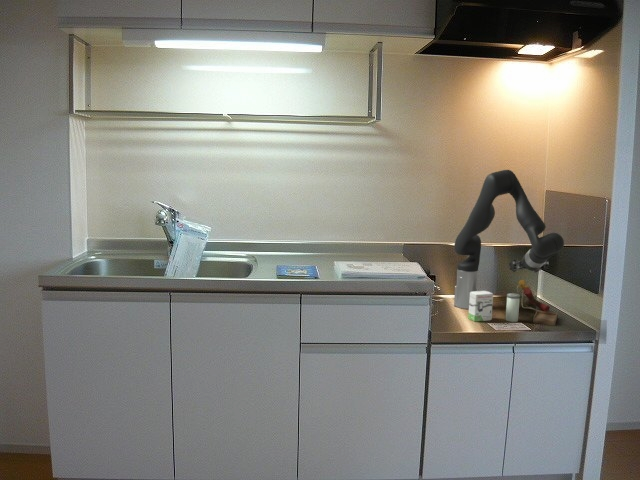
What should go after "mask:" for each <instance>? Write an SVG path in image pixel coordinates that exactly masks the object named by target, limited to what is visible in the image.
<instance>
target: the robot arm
mask: <svg viewBox="0 0 640 480" xmlns="http://www.w3.org/2000/svg"><path fill="white" fill-rule="evenodd" d="M506 194H507V195H508V194H509V195H510V196H511V197H512V198H513V199H514V202H515V214H516V220H517V222H518V223H519V225H520V226H521V228H522V229H523V230H524V232H525V233H526V235H527V238H528V239H529V242H530V245H531V248H530V249H529V250H528V251H527V252H526V253H525V254H524V255H523V256H522V259H521V260H519V261H517V260H516V259H512V260H511V261H510V262H509V263H508V265H509V267H508V268H509V270H511V271H512V273H516V272H517V271H518V270H519V271H523V270H528V271H530V272H533V271H534V273H538V272H539V271H546V270H547V269H548V268H549V267H550V264H549V259H550V258H551V257H553V256H555V255H556V254H558V253H561V251H562V250H563V249H564V246H565V240H564V238H563V237H562V236H561V234H559V233H557V232H551V233H548V234H546V235H543V236H541V237H539V236H540V235H541V234H542V233H543V232H544V231H545V230H546V223H545V222H544V220H543V219H542V218H541V217H540V215H539V214H538V212H537V211H536V210H535V208H534V207H533V206H532V204H531V202H530V200H529V199H528V196H527V194H526V193H525V190H524V188H523V186H522V185H521V182H520V181H519V179H518V177H517V175H516V173H514V172H513V171H512V170H510V169H503V170H499V171H494V172H491V173H489V174H487V176H486V177H485V179H484V181H483V184H482V187H481V191H480V193H479V195H478V196H477V197H478V198H477V200H476V202H475V205H474V206H473V208H472V209H471V212H470V214H469V216H468V218H467V220H466V223H465V224H464V225H463V227H462V229H461V230H460V232H459V233H458V235H457V236H456V238H455V241H454V252H455V253H456V254H457V255H460V256H468V257H467V258H466V259H464V260H461V261H460V262H457V265H456V266H457V267H456V285H455V286H454V299H453V300H454V301H453V307H456V308H459V309H463V310H464V309H466V310H469V299H470V292H474V291H478V281H479V280H478V278H479V266H480V260H481V250H482V240H481V237H480V235H479V234H481V233H482V232H485V231H486V230H487V229H488V228H489V227H490V226H491V224H492V222H493V221H494V218H495V217H496V216H495V215H496V210H495V208H494V205H493V203H494V201H495V200H496V198H497V197H499V196H502V195H503V196H504V195H506Z"/></svg>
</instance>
